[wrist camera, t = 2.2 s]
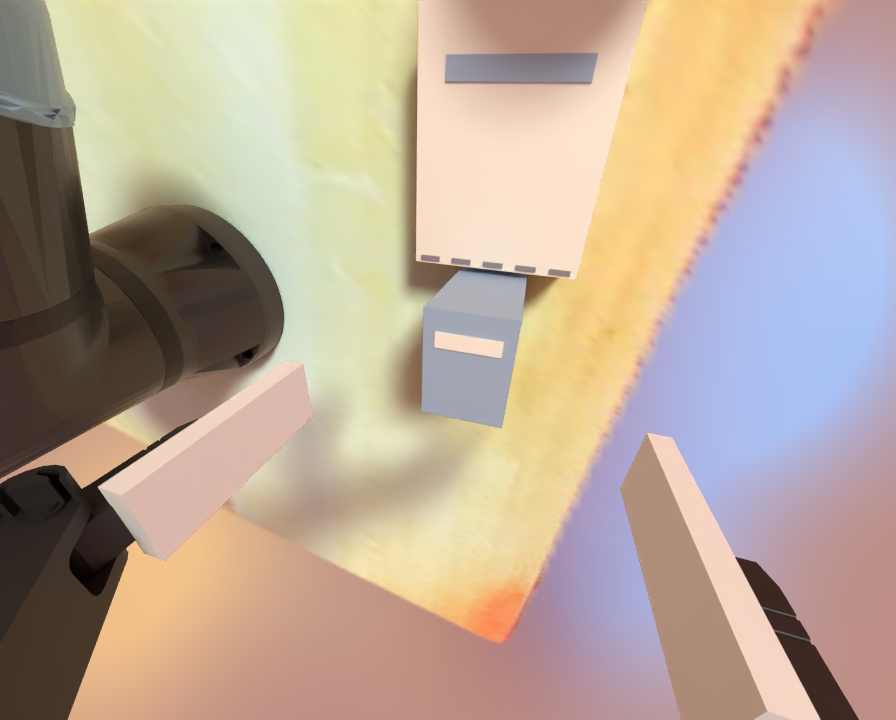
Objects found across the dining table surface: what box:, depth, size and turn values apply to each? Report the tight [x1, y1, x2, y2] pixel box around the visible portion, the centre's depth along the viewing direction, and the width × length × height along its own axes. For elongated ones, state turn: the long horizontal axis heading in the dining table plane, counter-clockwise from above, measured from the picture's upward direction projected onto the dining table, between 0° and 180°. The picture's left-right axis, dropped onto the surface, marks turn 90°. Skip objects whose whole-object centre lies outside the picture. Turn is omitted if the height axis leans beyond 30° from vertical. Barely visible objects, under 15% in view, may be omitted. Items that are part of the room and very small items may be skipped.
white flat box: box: [416, 0, 648, 280], centre depth 18 cm, size 10×13×4 cm
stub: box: [421, 267, 528, 428], centre depth 20 cm, size 4×6×11 cm
